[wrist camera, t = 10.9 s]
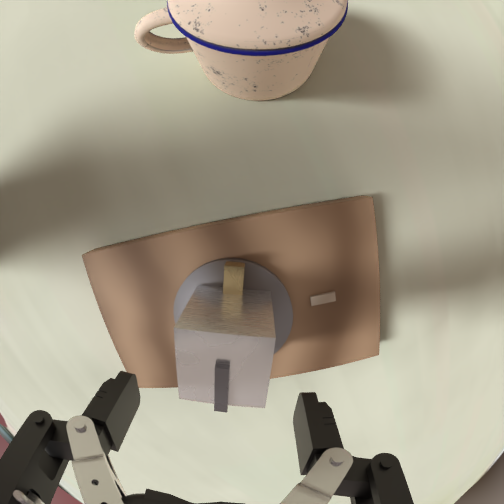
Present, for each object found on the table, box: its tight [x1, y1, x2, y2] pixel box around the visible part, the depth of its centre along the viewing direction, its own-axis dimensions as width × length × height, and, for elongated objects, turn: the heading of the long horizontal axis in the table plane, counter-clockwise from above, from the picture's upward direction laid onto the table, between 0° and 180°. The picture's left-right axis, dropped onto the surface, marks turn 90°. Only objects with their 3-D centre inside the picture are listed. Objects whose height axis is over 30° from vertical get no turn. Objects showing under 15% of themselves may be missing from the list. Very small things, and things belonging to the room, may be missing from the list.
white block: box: [174, 261, 276, 412], centre depth 16 cm, size 8×5×6 cm, turn 175°
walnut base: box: [82, 196, 380, 388], centre depth 20 cm, size 22×13×3 cm, turn 101°
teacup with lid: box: [135, 0, 348, 100], centre depth 11 cm, size 12×9×12 cm
